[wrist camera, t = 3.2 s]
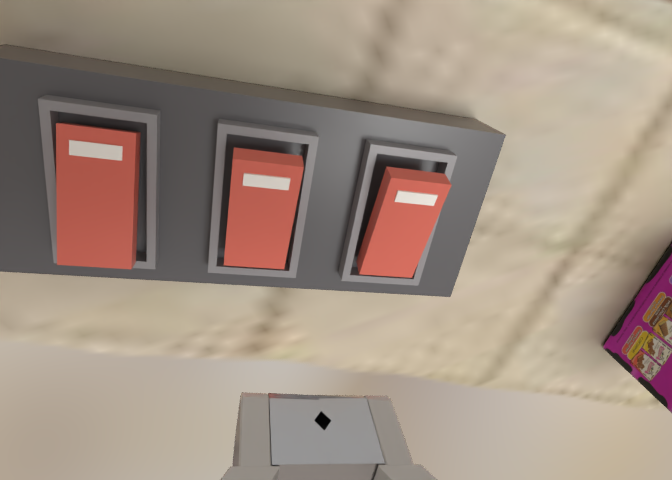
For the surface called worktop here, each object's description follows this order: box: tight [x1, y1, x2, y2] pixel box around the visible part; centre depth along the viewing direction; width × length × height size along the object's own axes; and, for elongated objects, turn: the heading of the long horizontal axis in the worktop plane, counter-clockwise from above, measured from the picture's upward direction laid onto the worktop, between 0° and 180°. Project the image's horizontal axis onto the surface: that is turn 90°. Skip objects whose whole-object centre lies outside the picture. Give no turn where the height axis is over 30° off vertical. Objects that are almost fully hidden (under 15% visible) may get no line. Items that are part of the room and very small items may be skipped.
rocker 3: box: [356, 166, 451, 278], centre depth 23 cm, size 3×6×1 cm, turn 169°
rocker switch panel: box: [0, 45, 506, 297], centre depth 24 cm, size 28×10×4 cm, turn 80°
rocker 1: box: [56, 123, 141, 269], centre depth 20 cm, size 3×6×1 cm, turn 170°
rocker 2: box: [224, 147, 304, 269], centre depth 22 cm, size 3×6×1 cm, turn 169°
